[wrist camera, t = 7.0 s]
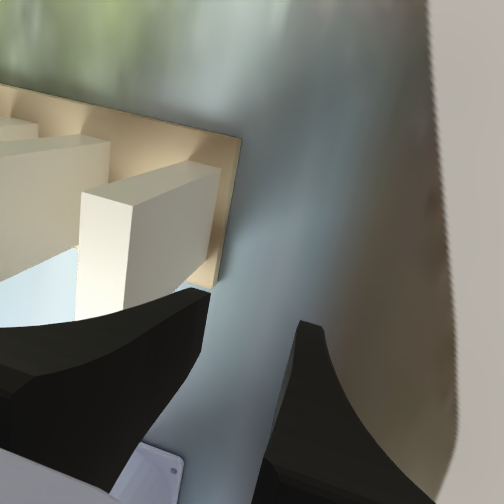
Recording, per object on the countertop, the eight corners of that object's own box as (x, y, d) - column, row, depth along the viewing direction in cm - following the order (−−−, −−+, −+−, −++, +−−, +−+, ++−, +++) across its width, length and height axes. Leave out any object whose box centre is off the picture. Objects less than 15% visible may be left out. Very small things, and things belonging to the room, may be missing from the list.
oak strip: (216, 283, 24) (211, 288, 23) (-126, 182, 28) (-139, 184, 27) (241, 138, 21) (237, 140, 20) (-144, 50, 25) (-159, 48, 25)
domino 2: (205, 261, 23) (119, 341, 15) (174, 252, 23) (74, 326, 15) (221, 168, 21) (132, 206, 13) (187, 159, 21) (81, 191, 14)
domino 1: (104, 232, 24) (-24, 293, 16) (76, 224, 24) (-64, 280, 16) (110, 141, 22) (-32, 161, 14) (80, 133, 22) (-76, 149, 15)
